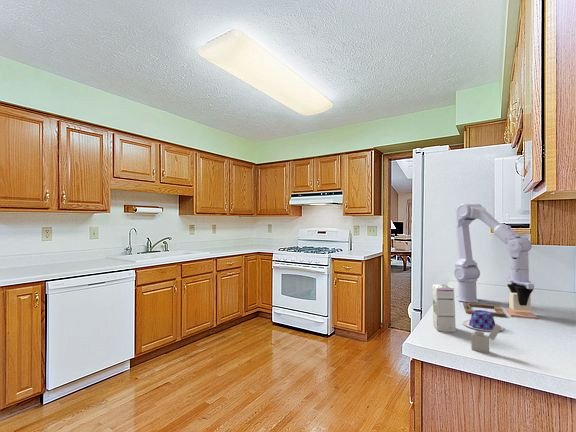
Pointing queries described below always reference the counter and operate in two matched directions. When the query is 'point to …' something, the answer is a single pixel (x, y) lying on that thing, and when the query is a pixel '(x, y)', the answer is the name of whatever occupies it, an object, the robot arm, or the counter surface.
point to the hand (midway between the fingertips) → (520, 304)
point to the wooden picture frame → (498, 310)
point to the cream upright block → (515, 302)
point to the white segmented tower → (444, 308)
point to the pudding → (481, 320)
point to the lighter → (483, 339)
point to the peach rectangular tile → (521, 313)
